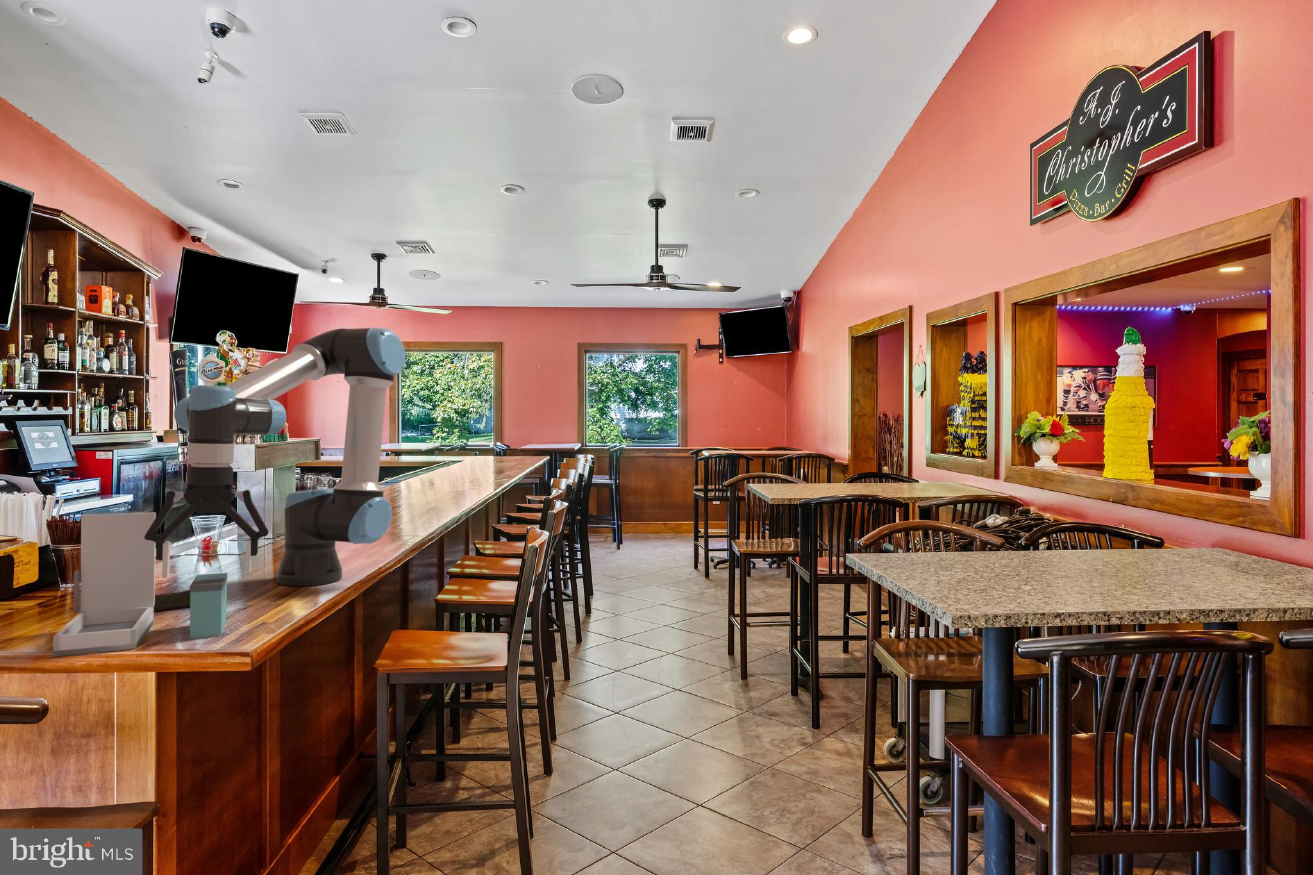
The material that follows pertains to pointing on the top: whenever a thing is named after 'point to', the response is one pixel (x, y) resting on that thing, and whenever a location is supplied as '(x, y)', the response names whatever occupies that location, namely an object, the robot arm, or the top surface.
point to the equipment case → (111, 586)
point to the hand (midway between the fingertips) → (207, 574)
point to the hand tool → (172, 600)
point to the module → (208, 605)
